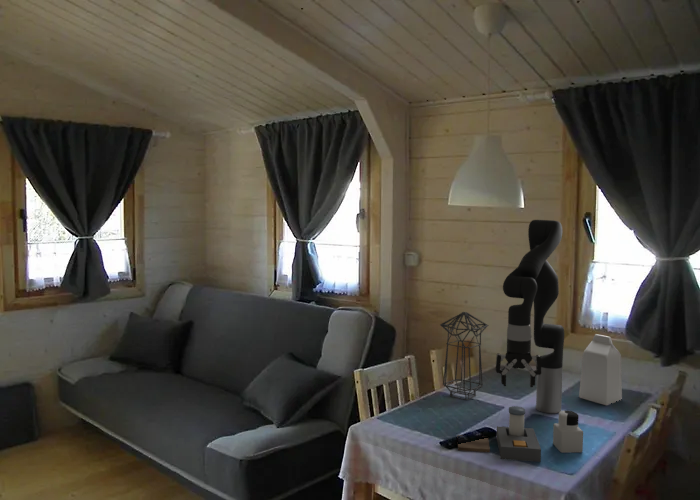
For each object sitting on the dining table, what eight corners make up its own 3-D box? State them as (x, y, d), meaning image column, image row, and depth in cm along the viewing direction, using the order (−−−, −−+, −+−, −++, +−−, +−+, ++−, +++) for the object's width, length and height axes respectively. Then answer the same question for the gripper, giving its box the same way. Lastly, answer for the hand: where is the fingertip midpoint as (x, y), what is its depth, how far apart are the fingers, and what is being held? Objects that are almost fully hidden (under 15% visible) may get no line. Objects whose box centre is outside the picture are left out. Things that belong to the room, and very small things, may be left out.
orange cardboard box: (513, 452, 189) (513, 440, 189) (524, 453, 189) (525, 440, 188) (514, 457, 186) (514, 444, 185) (526, 458, 185) (526, 445, 185)
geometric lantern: (436, 396, 245) (437, 312, 243) (456, 388, 257) (458, 307, 255) (470, 404, 235) (471, 316, 233) (489, 395, 246) (491, 311, 244)
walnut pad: (457, 438, 202) (457, 435, 202) (487, 440, 200) (487, 437, 200) (458, 450, 192) (458, 447, 192) (489, 452, 190) (489, 449, 190)
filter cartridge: (507, 440, 200) (508, 405, 199) (523, 441, 199) (524, 406, 198) (508, 446, 195) (509, 411, 194) (525, 448, 194) (526, 412, 193)
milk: (578, 397, 244) (580, 334, 242) (594, 392, 251) (596, 331, 249) (606, 405, 234) (608, 340, 232) (621, 399, 241) (624, 336, 239)
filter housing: (496, 437, 202) (496, 426, 202) (533, 440, 200) (533, 428, 200) (500, 459, 185) (501, 446, 185) (540, 461, 183) (541, 449, 183)
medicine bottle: (573, 443, 197) (575, 408, 196) (582, 452, 190) (584, 416, 189) (552, 444, 197) (553, 408, 196) (560, 453, 190) (562, 416, 189)
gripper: (539, 335, 196) (538, 383, 198) (495, 334, 198) (494, 381, 200) (543, 341, 189) (542, 390, 190) (497, 339, 191) (496, 388, 192)
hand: (517, 386), depth 195 cm, fingers open, 8 cm apart
